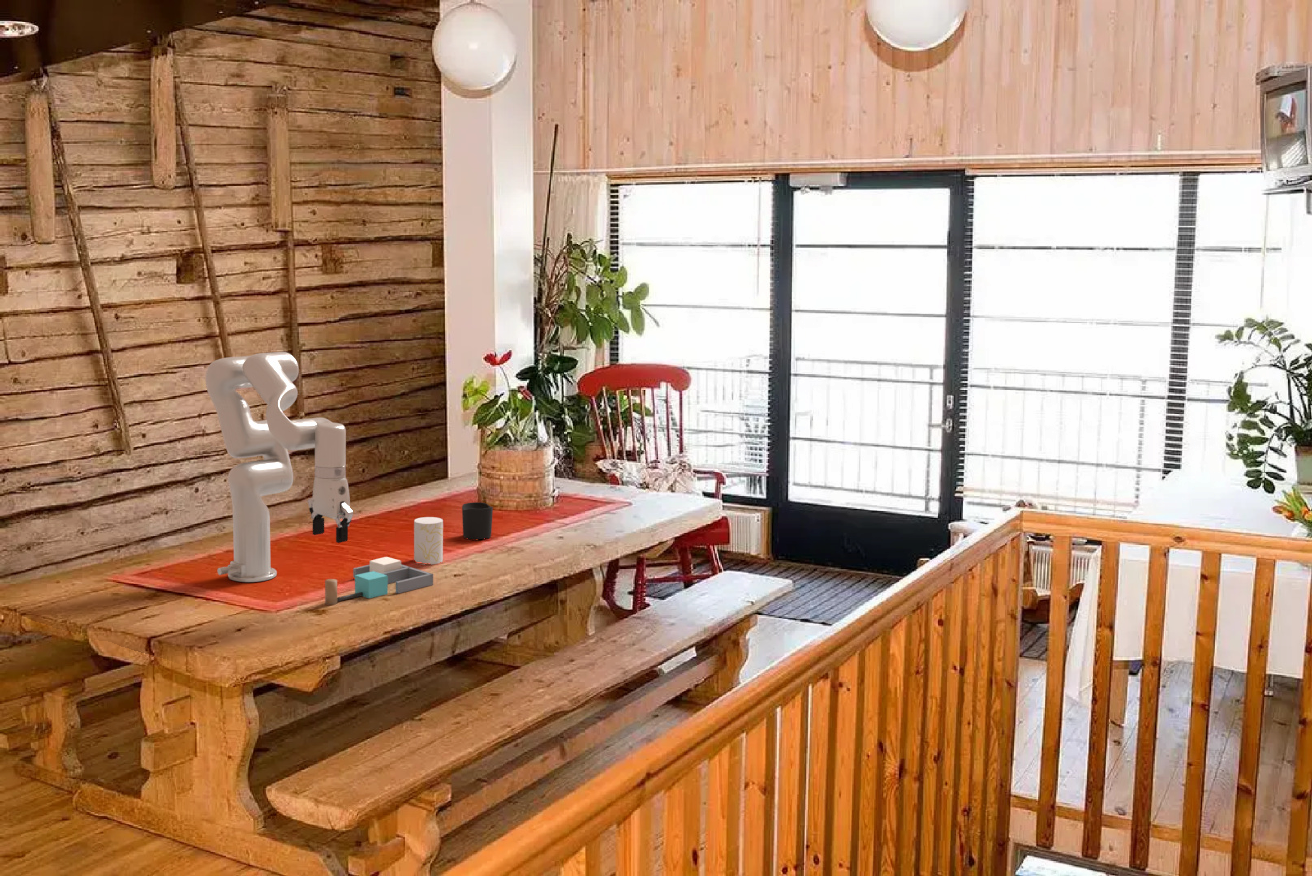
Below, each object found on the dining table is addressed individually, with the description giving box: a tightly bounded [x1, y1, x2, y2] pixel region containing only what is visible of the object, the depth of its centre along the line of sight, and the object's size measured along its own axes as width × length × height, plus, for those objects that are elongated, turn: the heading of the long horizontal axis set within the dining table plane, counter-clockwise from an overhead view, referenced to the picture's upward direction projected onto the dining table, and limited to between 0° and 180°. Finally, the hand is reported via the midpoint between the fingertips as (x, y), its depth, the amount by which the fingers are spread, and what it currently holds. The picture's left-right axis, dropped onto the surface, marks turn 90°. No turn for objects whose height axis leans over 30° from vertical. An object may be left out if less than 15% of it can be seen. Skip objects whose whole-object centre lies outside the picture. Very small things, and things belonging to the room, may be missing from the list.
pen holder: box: [461, 501, 494, 540], centre depth 404 cm, size 9×9×10 cm
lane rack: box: [352, 563, 434, 594], centre depth 354 cm, size 12×19×3 cm, turn 50°
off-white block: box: [369, 556, 402, 573], centre depth 357 cm, size 6×6×5 cm
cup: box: [413, 516, 444, 565], centre depth 375 cm, size 8×8×12 cm
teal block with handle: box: [324, 571, 389, 606], centre depth 338 cm, size 17×6×6 cm, turn 139°
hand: (330, 537), depth 330 cm, fingers open, 9 cm apart
